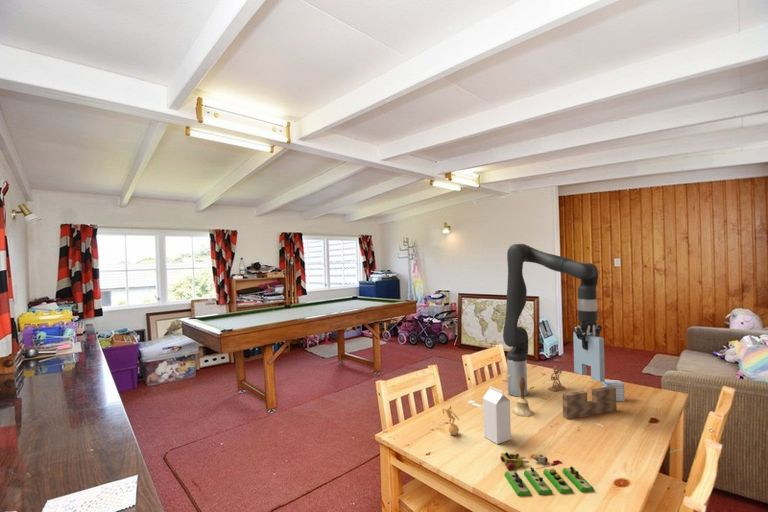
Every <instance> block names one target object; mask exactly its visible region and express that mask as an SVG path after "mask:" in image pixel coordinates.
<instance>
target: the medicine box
mask: <svg viewBox="0 0 768 512" xmlns="http://www.w3.org/2000/svg"><path fill="white" fill-rule="evenodd" d="M601 383H602V387H601V388H603V387H610V386H611V387H614V388H616V402H625V383H624V382H622V381H621V380H618V379H617V380H616V379H605V381H604V382H601Z"/></svg>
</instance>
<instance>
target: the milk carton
mask: <svg viewBox="0 0 768 512" xmlns="http://www.w3.org/2000/svg"><path fill="white" fill-rule="evenodd" d="M482 407H483V408H482V412H483V413H482V414H483V416H482V417H483V418H482V419H483V437H484V438H485V439H488V440H489V441H491V442H493V444H496V445H498V444H502V443H505V442H507V441H510V440H511V439H512V431H511V428H512V427H511V426H512V425H511V399H509V398H508V397H507V396H506V395H505V394H504V391H503V390H501V389H498V388H496V387H493V386H491V385H489V387H488V390H487V391H486V393H485V394H484V396H483V397H482Z"/></svg>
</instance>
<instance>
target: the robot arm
mask: <svg viewBox="0 0 768 512" xmlns="http://www.w3.org/2000/svg"><path fill="white" fill-rule="evenodd" d="M506 255H507V257H506V258H507V288H506V289H507V290H506V308H505V318H504V319H505V320H504V325H503V331H502V338H503V341H504V344H505V345H506V346H507V347H509V348H510V347H511V349H510V350H508V352H507V353H506V361H507V362H506V363H507V364H506V365H507V366H506V368H507V372H506V376H507V377H506V379H507V380H506V382H507V384H506V385H507V387H506V388H507V394H508V396H514V397H520V398H521V390H520V387H519V381H520V377H521V376H522V377H524V380H525V390H524V396H528V372H527V371H528V367H527V364H528V363H527V357H528V355H529V335H528V332H527V330H526V329H525V327H523V326H518V322H519V318H520V316H521V314H522V312H523V311H524V308H525V306H526V304H527V293H528V291H527V286H526V282H525V280H524V276H523V275H524V274H523V270H524V269H523V268H524V263H525V262H527V263H533V264H538V265H541V266H543V267H545V268H547V269H549V270H551V271H555V272H559V273H562V274H566V275H569V276H571V277H573V278H576V279H578V280H580V284H579V286H578V288H577V320H578V325H577V326H573V328H572V329H573V330H574V331H573V332H575V333H576V335H577V338H578V339H581V340H582V348H583V349H585V350H588V341H587V340H588V336H589V335H592V336H596V337H600V334H601V331H602V329H603V326H602V325H599V324H598V322H597V321H598V320H599V318H598V301H597V285H598V279H599V271H598V267H597V266H596V265H595V264H594V263H591V262H587V263H584V262H579V261H575V260H574V259H571V258H568V257H565V256H560V255H558V254H557V255H556V254H552V253H548V252H544V251H542V250H538V249H537V248H534V247H532V246H529V245H527V244H525V243H514V244H512V245H510V246H509V248H508V249H507V252H506ZM584 335H585V338H584Z"/></svg>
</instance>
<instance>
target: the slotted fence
mask: <svg viewBox="0 0 768 512" xmlns="http://www.w3.org/2000/svg"><path fill="white" fill-rule="evenodd" d="M611 412H612V413H613V412H617V401H616V388H614V387H611V386H610V387H598V388H591V400H588V392H587V391H584V390H578V391H572V392H570V391H569V392H565V393H562V417H563V418H564V419H566V420H571V419H577V418H578V419H579V418H583V417H588V416H589V417H590V416H595V415H599V414H601V415H602V414H606V413H611Z"/></svg>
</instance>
